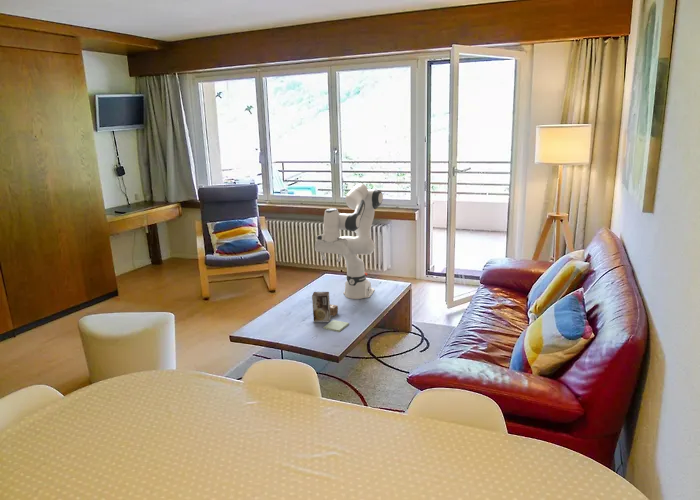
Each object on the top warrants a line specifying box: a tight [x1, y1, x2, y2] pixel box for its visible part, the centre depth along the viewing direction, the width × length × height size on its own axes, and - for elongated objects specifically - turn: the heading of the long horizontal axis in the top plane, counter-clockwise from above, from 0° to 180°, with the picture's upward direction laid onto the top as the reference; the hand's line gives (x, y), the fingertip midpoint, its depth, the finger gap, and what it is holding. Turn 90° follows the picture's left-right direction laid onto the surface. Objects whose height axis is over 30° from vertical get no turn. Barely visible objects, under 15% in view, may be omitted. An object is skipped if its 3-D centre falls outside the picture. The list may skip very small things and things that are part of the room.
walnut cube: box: [330, 303, 339, 317], centre depth 294 cm, size 5×5×5 cm
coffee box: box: [311, 291, 331, 323], centre depth 284 cm, size 9×6×16 cm
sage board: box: [323, 319, 350, 333], centre depth 276 cm, size 11×10×1 cm
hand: (331, 260), depth 288 cm, fingers open, 8 cm apart
